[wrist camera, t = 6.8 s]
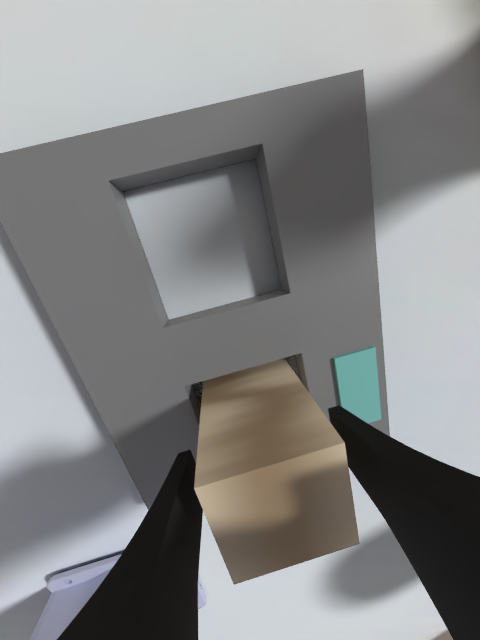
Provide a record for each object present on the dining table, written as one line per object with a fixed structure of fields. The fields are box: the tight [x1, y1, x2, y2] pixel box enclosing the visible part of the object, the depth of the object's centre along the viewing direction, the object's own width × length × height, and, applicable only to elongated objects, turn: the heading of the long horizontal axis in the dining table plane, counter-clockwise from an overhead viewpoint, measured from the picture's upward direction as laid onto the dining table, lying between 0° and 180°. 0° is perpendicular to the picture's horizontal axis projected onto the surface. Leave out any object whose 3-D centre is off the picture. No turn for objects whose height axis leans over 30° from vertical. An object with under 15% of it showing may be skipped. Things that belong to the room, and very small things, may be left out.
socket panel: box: [0, 69, 390, 510], centre depth 12 cm, size 16×20×2 cm
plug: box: [194, 358, 359, 584], centre depth 11 cm, size 5×5×7 cm
